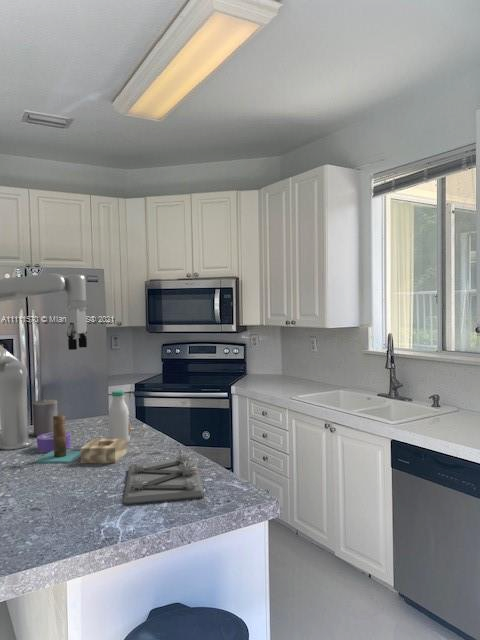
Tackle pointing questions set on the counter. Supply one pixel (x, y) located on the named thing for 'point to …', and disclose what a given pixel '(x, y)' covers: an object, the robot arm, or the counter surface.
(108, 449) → the eye block
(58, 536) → the counter surface
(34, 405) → the pillar candle
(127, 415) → the milk bottle
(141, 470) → the decorative plate
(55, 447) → the walnut peg
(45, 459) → the teal mat
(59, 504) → the counter surface
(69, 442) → the tape roll
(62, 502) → the counter surface
